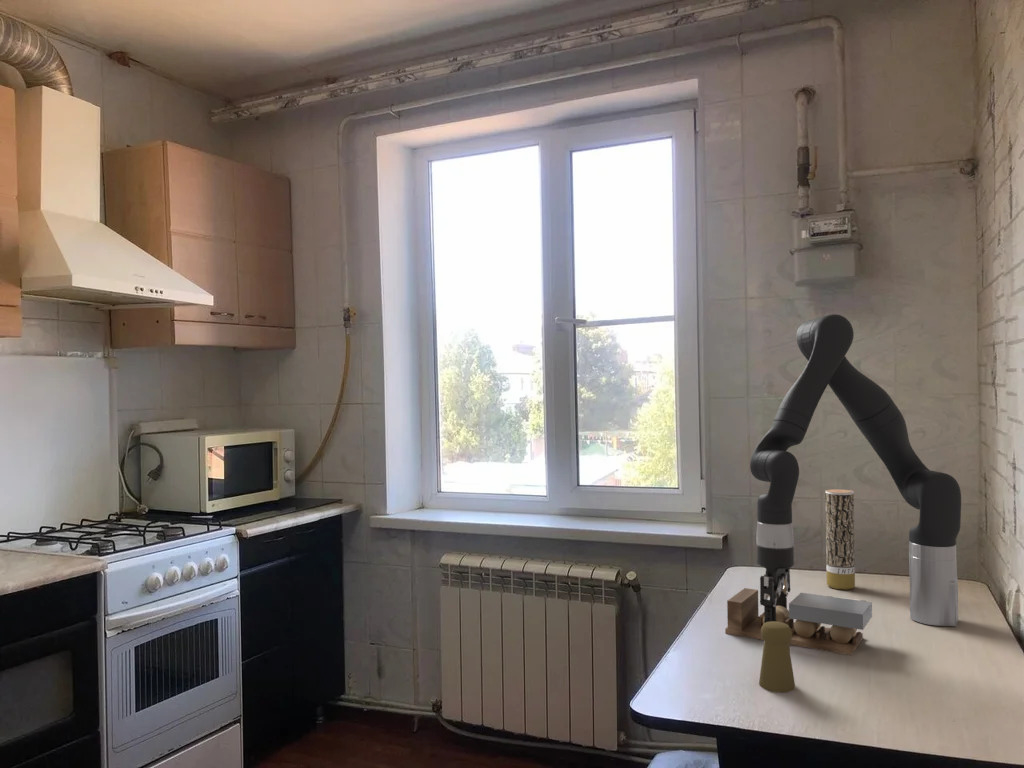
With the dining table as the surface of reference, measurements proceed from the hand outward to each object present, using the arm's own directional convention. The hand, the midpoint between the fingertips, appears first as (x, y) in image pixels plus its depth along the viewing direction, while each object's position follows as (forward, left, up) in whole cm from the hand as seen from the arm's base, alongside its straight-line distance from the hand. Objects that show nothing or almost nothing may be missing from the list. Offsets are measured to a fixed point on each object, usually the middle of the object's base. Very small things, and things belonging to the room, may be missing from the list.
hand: (776, 619), depth 163 cm
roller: (0, 0, -2) cm, 2 cm away
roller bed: (-3, 0, -3) cm, 5 cm away
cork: (-8, +29, -3) cm, 30 cm away
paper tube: (-4, -46, -3) cm, 46 cm away
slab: (-11, 0, +2) cm, 11 cm away
